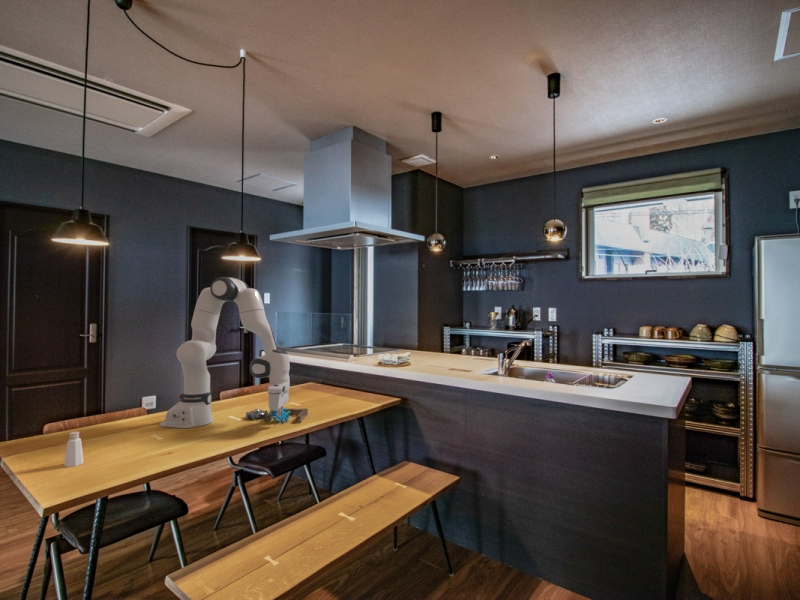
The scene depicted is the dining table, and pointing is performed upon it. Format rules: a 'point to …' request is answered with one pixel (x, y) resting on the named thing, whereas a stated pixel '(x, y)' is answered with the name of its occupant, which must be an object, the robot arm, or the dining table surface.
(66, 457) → the pepper shaker
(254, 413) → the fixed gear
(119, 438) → the dining table surface
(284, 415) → the gear
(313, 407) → the dining table surface
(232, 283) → the robot arm
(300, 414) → the brown bracket
